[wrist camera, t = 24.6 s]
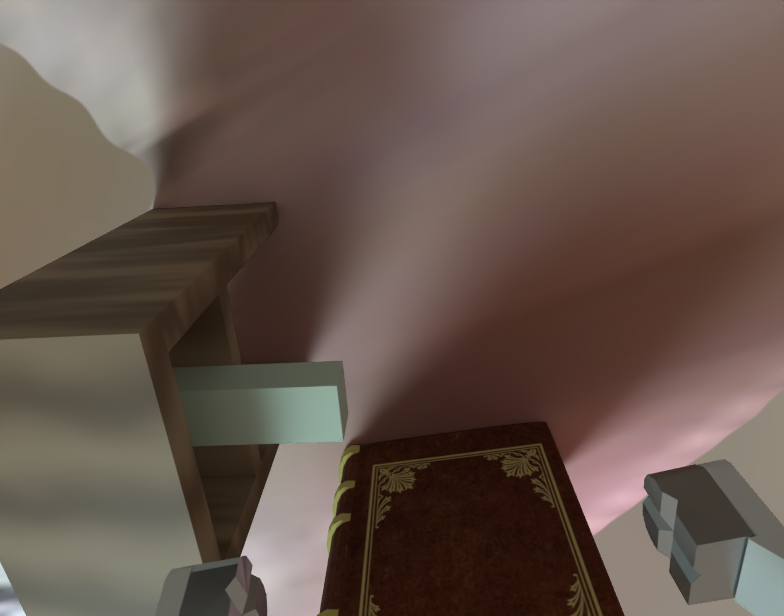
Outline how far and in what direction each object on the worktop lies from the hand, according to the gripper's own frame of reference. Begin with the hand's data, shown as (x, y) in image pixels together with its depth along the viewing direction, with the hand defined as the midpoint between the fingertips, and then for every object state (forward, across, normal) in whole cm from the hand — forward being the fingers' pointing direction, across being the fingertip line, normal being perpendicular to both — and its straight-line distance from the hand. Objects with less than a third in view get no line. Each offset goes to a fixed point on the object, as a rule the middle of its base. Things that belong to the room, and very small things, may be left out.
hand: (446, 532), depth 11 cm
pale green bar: (+22, +14, +11) cm, 28 cm away
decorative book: (+34, 0, +35) cm, 49 cm away
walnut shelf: (+38, +16, +13) cm, 43 cm away
